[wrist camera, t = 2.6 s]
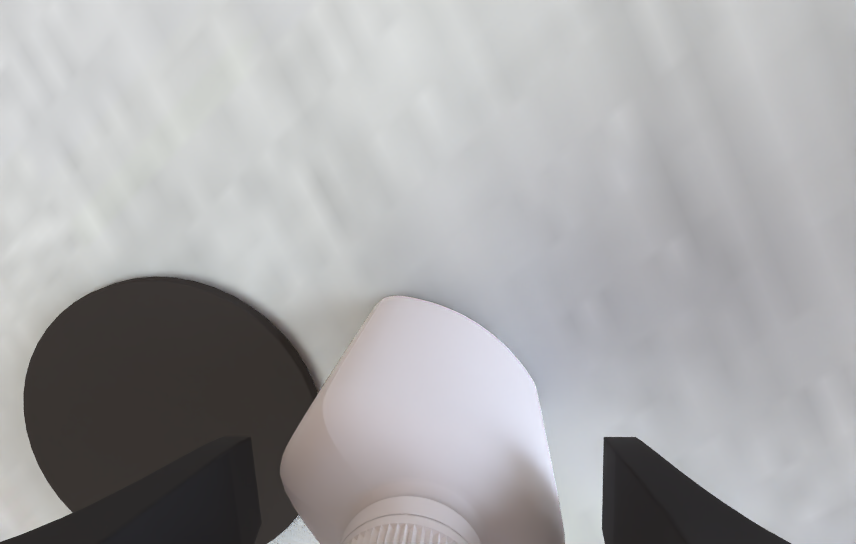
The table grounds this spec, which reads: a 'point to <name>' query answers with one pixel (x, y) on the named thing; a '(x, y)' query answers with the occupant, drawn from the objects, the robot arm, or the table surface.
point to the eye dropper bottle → (424, 439)
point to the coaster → (161, 390)
